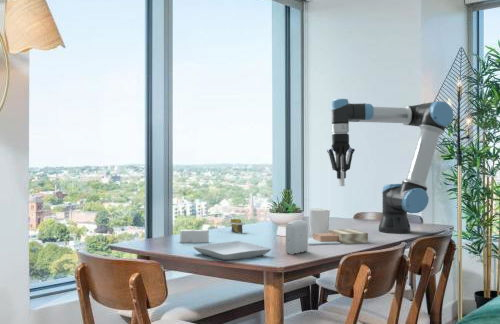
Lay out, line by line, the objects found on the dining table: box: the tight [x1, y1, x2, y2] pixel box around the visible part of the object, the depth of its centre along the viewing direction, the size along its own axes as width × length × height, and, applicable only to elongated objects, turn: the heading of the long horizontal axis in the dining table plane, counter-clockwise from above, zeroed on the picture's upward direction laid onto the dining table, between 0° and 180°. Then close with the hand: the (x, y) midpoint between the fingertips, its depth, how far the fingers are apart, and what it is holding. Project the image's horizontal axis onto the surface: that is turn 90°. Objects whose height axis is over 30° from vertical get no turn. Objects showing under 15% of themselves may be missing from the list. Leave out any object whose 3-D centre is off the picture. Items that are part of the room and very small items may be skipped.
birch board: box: [328, 228, 369, 245], centre depth 245 cm, size 12×14×4 cm
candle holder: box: [308, 208, 331, 237], centre depth 261 cm, size 10×10×12 cm
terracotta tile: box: [312, 233, 338, 242], centre depth 243 cm, size 8×8×2 cm
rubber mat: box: [308, 237, 341, 246], centre depth 242 cm, size 14×16×1 cm
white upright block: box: [285, 219, 309, 255], centre depth 214 cm, size 10×4×12 cm, turn 140°
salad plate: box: [193, 240, 272, 261], centre depth 207 cm, size 21×21×3 cm
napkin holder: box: [179, 228, 210, 243], centre depth 239 cm, size 15×11×6 cm
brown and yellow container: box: [228, 218, 246, 234], centre depth 271 cm, size 12×18×7 cm, turn 40°
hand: (341, 185), depth 255 cm, fingers closed
